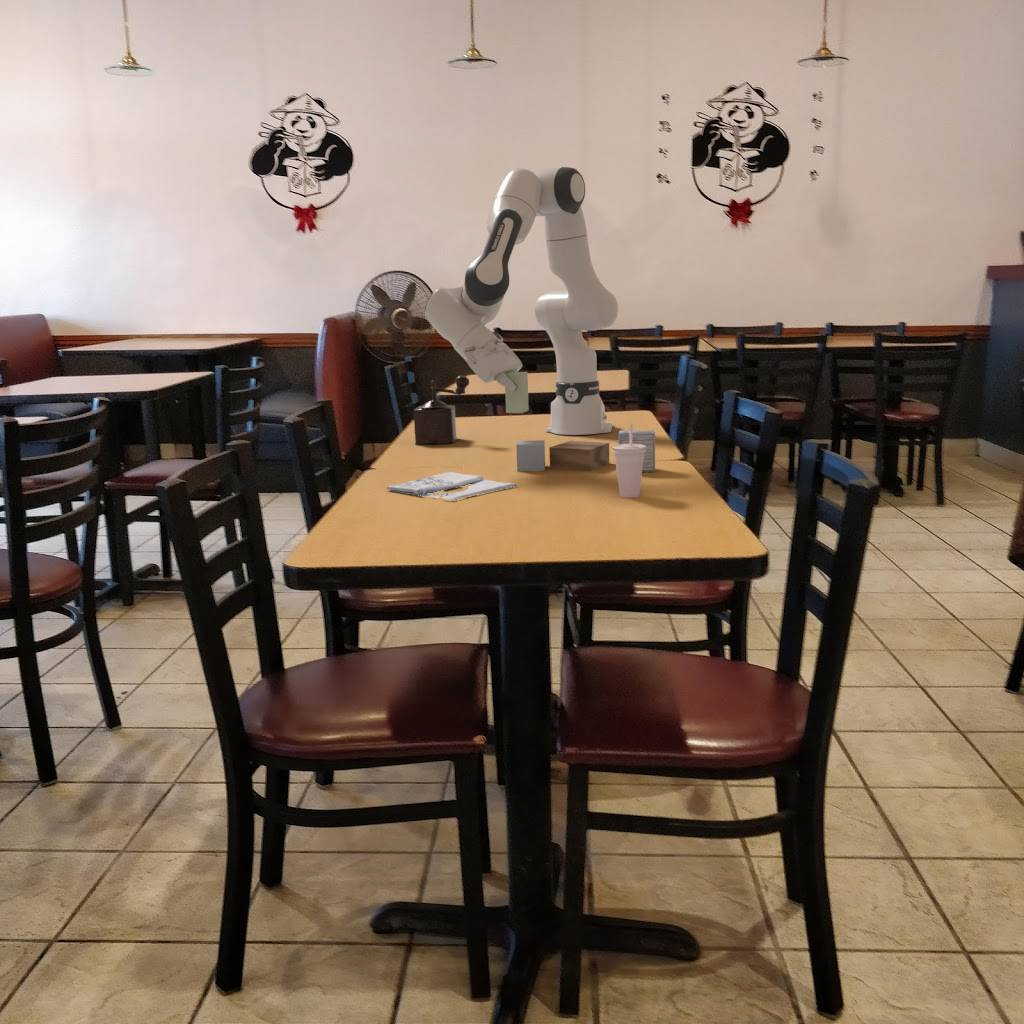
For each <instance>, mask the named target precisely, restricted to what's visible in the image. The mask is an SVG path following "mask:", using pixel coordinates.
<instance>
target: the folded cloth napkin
mask: <svg viewBox="0 0 1024 1024" xmlns="http://www.w3.org/2000/svg"><path fill="white" fill-rule="evenodd" d="M468 484H474V485H471V486H469V487H468V489H467V490H464V491H461V492H456V493H453V494H451V493H445V494H444V493H442V494H441V493H439V495H438V494H437V493H434V492H437V491H441V490H445V491H447V490H446V489H449V490H452V489H451V488H454V489H457V488H456V487H460V486H465V485H468ZM514 486H516V487H517V483H514V482H501V481H496V480H495V481H494V480H489V479H484V477H483V476H482V475H473V474H466V473H465V474H463V473H458V472H454V471H447V472H443V473H439V474H435V475H431V476H427V477H422V478H418V479H413V480H410V481H406V482H403V483H398V484H393V485H392V484H391V485H389V486H386V489H387V490H389V491H390V492H394V493H398V494H399V493H400V494H405V493H406V494H407V495H410V494H412V495H411V496H415V495H419V496H418V497H420V495H421V496H428V497H433V498H439V497H440V496H441V495H443V497H441V498H444V499H446V500H451V501H453V500H457V499H460V498H465V497H468V496H473V495H477V494H482V493H487V492H491V491H496V490H500V489H506V488H510V487H514ZM460 488H461V487H460ZM427 493H434V494H437V495H432V494H427ZM406 494H405V495H406Z"/></svg>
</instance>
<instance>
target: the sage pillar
mask: <svg viewBox="0 0 1024 1024" xmlns="http://www.w3.org/2000/svg"><path fill="white" fill-rule="evenodd" d="M505 375H506V377H507V378H508V379H510V380H511V381H512V382H514V383H515V384H516V385H517V386H518V388H517V389H516V390H515V391H514V392H510V391H509V390H508V389H507V388H506V387H504V388H505V389H504V393H505V413H506V414H524V413H526V412H529V411H530V410H529V409H530V407H529V382H528V380H529V379H528V377H529V376H528V371H518V372H510V373H506V374H505Z"/></svg>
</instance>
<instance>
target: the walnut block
mask: <svg viewBox="0 0 1024 1024" xmlns="http://www.w3.org/2000/svg"><path fill="white" fill-rule="evenodd" d="M548 449H549V468H550V469H559V470H560V469H561V470H570V471H571V470H574V471H584V472H585V471H587V472H591V471H593V470H596V469H598V468H601V467H604V466H606V465H609V464H610V442H600V441H598V442H597V441H581V440H568V441H566V442H562V443H559V444H555V445H554V446H549V448H548Z"/></svg>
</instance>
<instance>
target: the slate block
mask: <svg viewBox="0 0 1024 1024" xmlns="http://www.w3.org/2000/svg"><path fill="white" fill-rule="evenodd" d="M545 444H546V443H545V439H542V440H541V439H539V440H517V443H516V468H517V469H516V470H517V472H539V471H540V472H543V471H544V472H545V469H546V455H545V454H546V452H545V451H546V450H545V449H546V447H545V446H546V445H545Z"/></svg>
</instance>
